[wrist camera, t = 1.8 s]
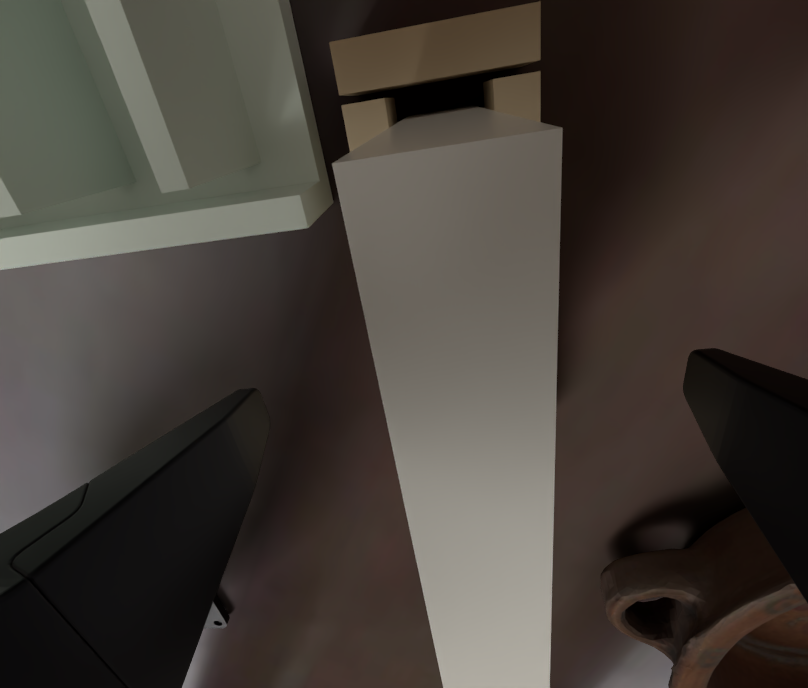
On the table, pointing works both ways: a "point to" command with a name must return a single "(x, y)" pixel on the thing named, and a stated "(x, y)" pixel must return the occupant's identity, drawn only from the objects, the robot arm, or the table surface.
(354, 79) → the stand
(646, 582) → the dish
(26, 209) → the rack
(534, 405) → the white slab
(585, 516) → the table surface
